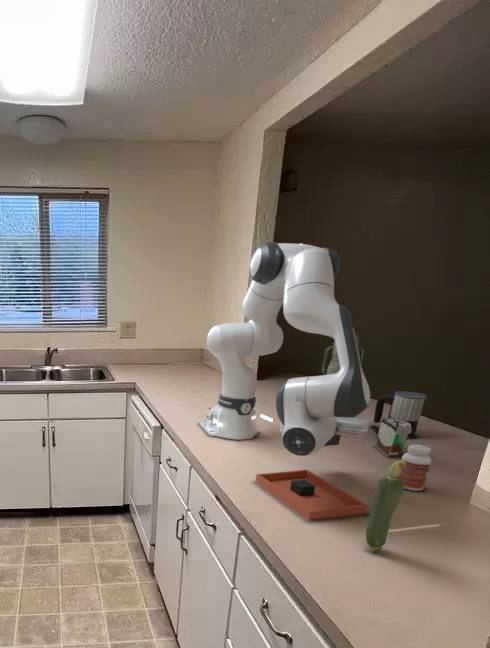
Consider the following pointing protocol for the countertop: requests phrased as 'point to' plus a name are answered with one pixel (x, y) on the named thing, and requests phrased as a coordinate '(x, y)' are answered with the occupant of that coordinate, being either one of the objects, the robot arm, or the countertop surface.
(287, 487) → the tray
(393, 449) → the food container
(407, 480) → the pill bottle
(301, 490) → the block
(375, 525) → the vegetable
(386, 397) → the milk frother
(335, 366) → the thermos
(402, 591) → the countertop surface
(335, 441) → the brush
